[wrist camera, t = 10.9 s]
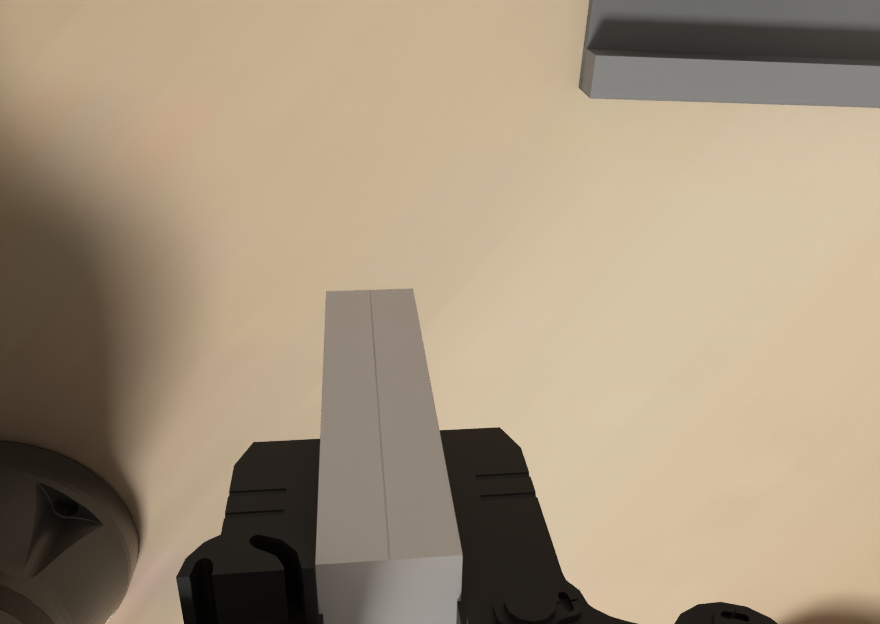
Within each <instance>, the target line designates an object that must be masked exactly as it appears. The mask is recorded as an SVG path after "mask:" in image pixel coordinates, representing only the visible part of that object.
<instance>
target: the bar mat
mask: <svg viewBox="0 0 880 624" xmlns="http://www.w3.org/2000/svg"><path fill="white" fill-rule="evenodd" d="M579 88H580V89H581V90H582V91H583V92H584V93H585V94H586V95H587V96H588V97H589V98H594V99H625V100H656V101H686V102H717V103H748V104H778V105H809V106H839V107H870V108H880V0H590V1H589V9H588V17H587V25H586V33H585V41H584V49H583V57H582V65H581V73H580V81H579Z"/></svg>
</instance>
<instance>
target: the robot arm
mask: <svg viewBox="0 0 880 624" xmlns="http://www.w3.org/2000/svg"><path fill="white" fill-rule="evenodd" d="M137 559H138V536H137V531H136V528H135V525H134V522H133V520H132V517H131V515H130V513H129V511H128V509H127V508H126V506H125V505H124V503H123V502H122V500H121V499H120V498H119V497H118V495H117V494H116V493H115V492H114V491H113V490H112V489H111V488H110V487H109V486H108V485H107V484H106V483H105V482H104V481H103V480H102V479H100V478H99V477H98V476H96V475H95V474H94V473H92V472H91V471H89V470H88V469H86V468H85V467H83V466H81V465H80V464H78V463H76V462H74V461H72V460H70V459H68V458H66V457H64V456H61V455H59V454H56V453H54V452H51V451H48V450H45V449H41V448H38V447H34V446H30V445H24V444H19V443H12V442H0V624H105V623H106V622H107V621H108V620H109V619H110V618H111V617H112V615H113V614H114V613H115V612H116V610H117V609H118V608H119V606H120V604H121V602H122V601H123V599H124V597H125V595H126V593H127V590H128V587H129V584H130V581H131V579H132V576H133V573H134V570H135V567H136V563H137ZM176 579H177V585H178V591H179V596H180V602H181V608H182V614H183V620H184V624H637V623H632V622H628V621H624V620H621V619H617V618H614V617H611V616H608V615H606V614H604V613H602V612H600V611H598V610H596V609H594V608H593V607H591V606H590V605H589V604H588V603H587V602H586V600H585V598H584V597H583V595H582V594H581V592H580V591H579V590H578V589H577V588H575V587H574V586H573V585H572V584H570V583H569V582H568V581H566V579H565V577H564V575H563V573H562V571H561V568H560V565H559V562H558V559H557V556H556V553H555V550H554V547H553V544H552V541H551V538H550V535H549V531H548V528H547V525H546V522H545V519H544V516H543V513H542V510H541V507H540V504H539V501H538V498H537V497H536V495H535V489H534V486H533V483H532V480H531V477H529V471H528V468H527V465H526V462H525V459H524V456H523V453H522V450H521V447H519V446H518V445H517V444H516V443H515V442H514V441H513V440H512V439H511V438H510V437H509V436H508V435H507V434H506V433H505V432H504V431H503V430H502V429H501V428H500V427H499V428H479V429H459V430H440V431H439V425H438V420H437V415H436V409H435V404H434V399H433V393H432V388H431V383H430V377H429V372H428V367H427V361H426V356H425V350H424V345H423V340H422V334H421V329H420V324H419V318H418V313H417V308H416V302H415V297H414V292H413V289H386V290H355V291H326V309H325V334H324V359H323V384H322V410H321V435H320V439H309V440H289V441H269V442H253V444H252V445H251V446H250V447H249V448H248V450H247V451H246V452H245V453H244V454H243V456H242V457H241V458H240V459H239V460H238V462H237V463H236V464H235V465H234V470H233V475H232V480H231V485H230V490H229V497H228V501H227V506H226V511H225V518H224V522H223V527H222V532H221V535H219V536H217V537H215V538H212V539H210V540H208V541H206V542H204V543H203V544H202V545H201V546H199V547H198V548H197V549H196V550H195V551H194V552H193V553H191V554H190V555H189V556H188V557H187V558H186V559H185V561H184V563H183V565H182V567H181V569H180V571H179V573H178V575H177V577H176ZM675 624H777V623H776V622H775V621H774V620H772V619H771V618H769V617H767V616H765V615H763V614H761V613H758V612H756V611H754V610H752V609H750V608H748V607H745V606H739V605H734V604H729V603H723V602H717V603H707V604H698V605H696V606H694V607H693V608H691V609H689V610H687V611H685V612H683V613H681V614H680V616H679V617H678V619H677V621H676V622H675Z"/></svg>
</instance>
